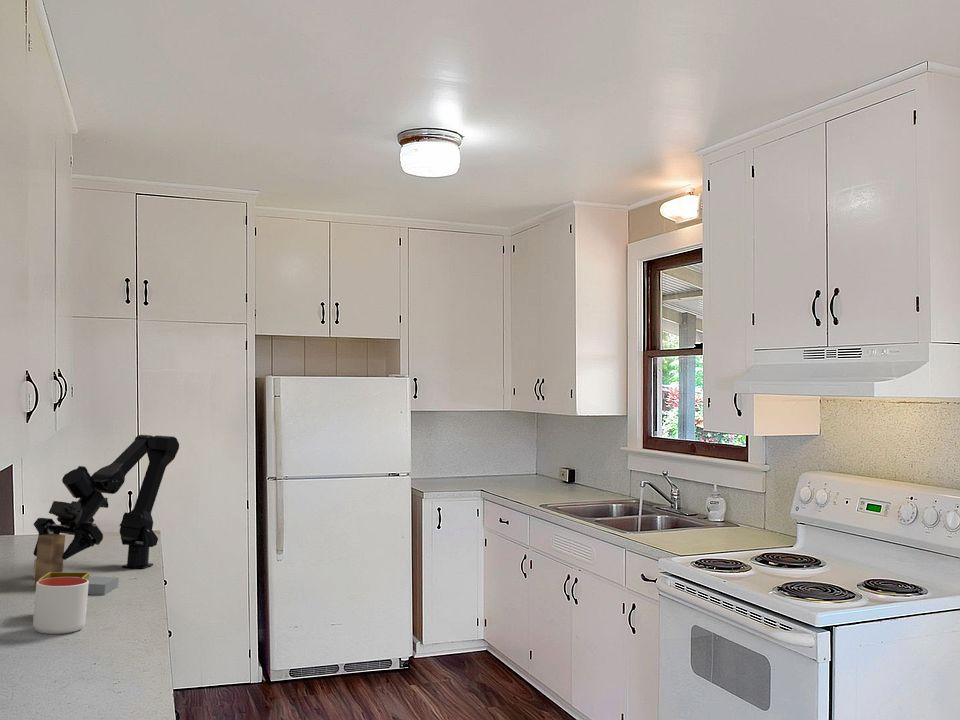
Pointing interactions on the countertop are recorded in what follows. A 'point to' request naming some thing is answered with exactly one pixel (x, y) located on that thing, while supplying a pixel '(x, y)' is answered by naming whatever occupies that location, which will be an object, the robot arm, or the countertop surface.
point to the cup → (60, 605)
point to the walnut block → (49, 555)
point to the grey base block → (102, 585)
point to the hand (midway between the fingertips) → (48, 556)
